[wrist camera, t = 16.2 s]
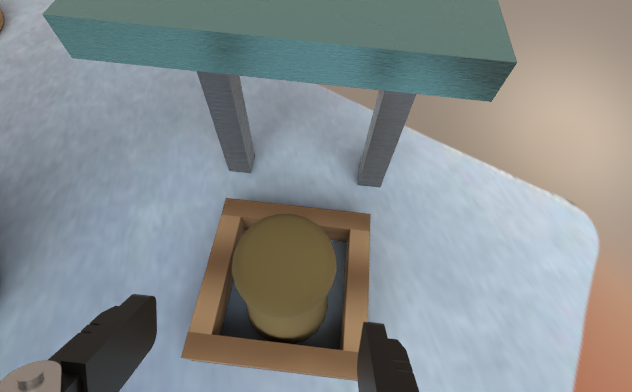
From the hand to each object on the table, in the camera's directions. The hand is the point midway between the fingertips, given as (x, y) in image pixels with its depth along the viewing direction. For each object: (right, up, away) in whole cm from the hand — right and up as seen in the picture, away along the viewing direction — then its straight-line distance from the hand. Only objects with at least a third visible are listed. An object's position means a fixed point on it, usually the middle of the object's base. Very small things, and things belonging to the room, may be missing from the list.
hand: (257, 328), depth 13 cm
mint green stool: (+1, +4, +16) cm, 17 cm away
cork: (0, -3, +12) cm, 13 cm away
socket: (0, -2, +13) cm, 13 cm away
